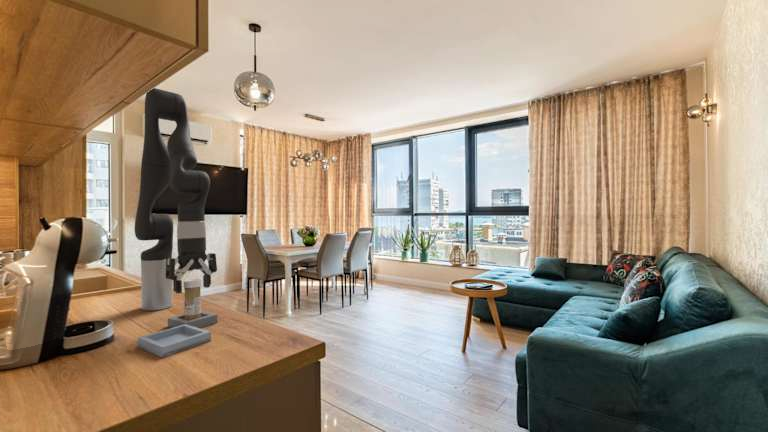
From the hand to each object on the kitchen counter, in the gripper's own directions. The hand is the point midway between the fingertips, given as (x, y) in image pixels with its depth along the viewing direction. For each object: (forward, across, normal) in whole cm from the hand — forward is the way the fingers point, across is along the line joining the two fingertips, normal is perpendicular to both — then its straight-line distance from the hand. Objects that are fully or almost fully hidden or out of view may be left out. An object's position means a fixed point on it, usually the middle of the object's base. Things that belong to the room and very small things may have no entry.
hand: (192, 290), depth 104 cm
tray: (+11, +11, +10) cm, 19 cm away
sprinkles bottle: (+11, 0, 0) cm, 11 cm away
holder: (+10, 0, 0) cm, 11 cm away
